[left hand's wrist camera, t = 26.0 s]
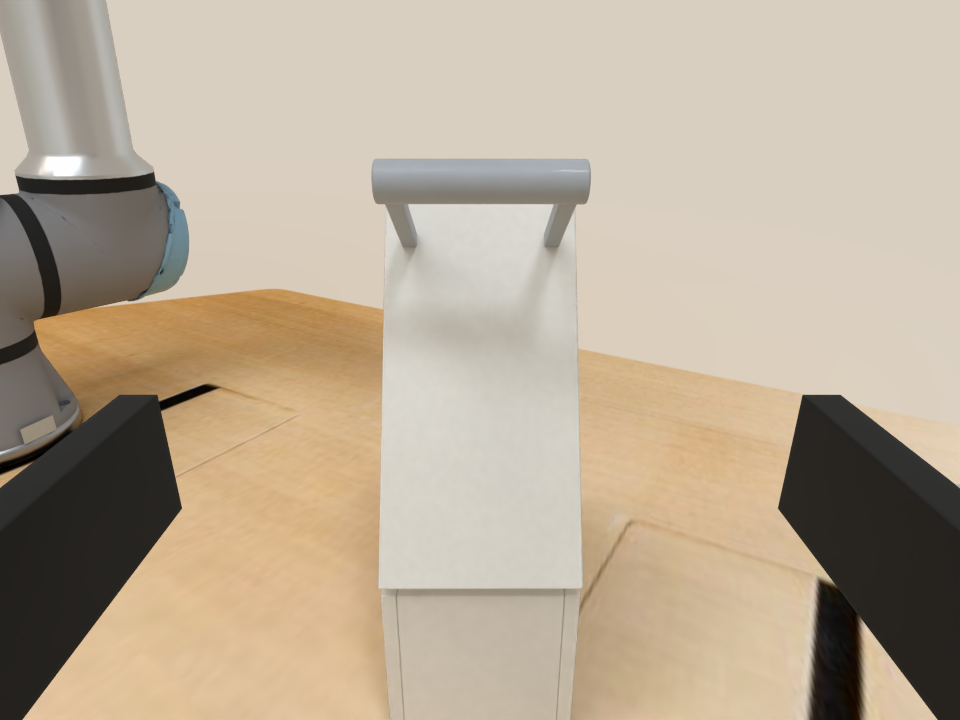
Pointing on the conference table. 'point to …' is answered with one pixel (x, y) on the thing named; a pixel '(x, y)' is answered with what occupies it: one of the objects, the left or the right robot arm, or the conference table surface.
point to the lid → (480, 374)
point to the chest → (480, 653)
